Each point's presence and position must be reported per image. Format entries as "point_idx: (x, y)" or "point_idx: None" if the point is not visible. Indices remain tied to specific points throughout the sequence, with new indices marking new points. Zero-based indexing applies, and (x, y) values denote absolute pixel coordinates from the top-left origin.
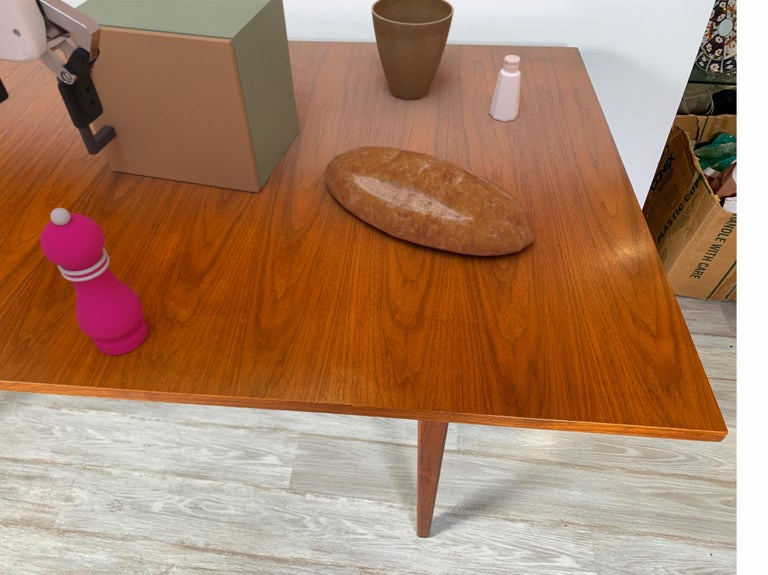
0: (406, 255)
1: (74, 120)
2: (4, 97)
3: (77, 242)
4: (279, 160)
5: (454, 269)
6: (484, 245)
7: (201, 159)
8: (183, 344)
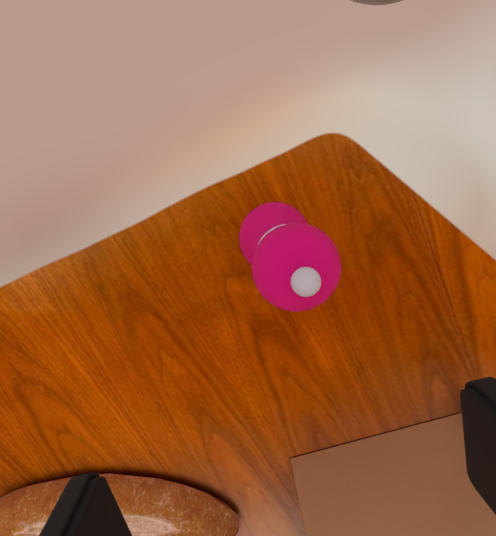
0: (88, 457)
1: (69, 500)
2: (471, 470)
3: (261, 261)
4: None
5: (34, 464)
6: (1, 505)
7: (364, 472)
8: (204, 255)
